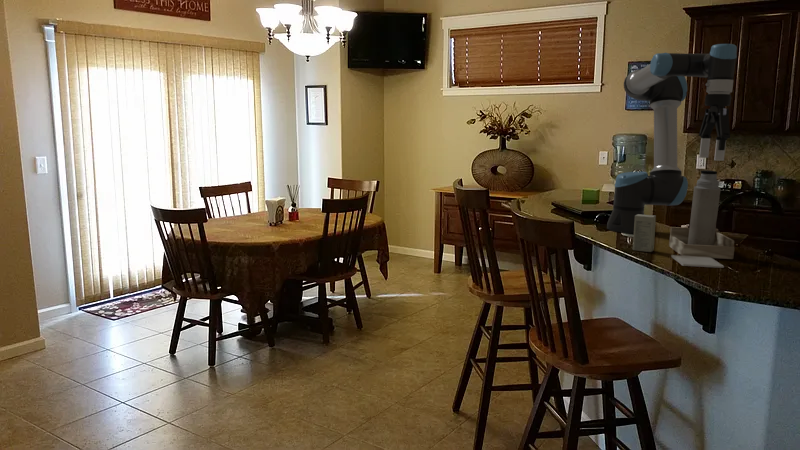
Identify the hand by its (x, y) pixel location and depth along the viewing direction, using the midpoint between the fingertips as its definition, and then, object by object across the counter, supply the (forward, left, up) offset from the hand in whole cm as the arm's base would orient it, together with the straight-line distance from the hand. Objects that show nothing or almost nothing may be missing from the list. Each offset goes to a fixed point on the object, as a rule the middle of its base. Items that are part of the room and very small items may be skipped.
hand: (711, 159), depth 200 cm
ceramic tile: (+15, -6, -32) cm, 36 cm away
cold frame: (0, 0, -32) cm, 32 cm away
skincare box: (+1, -19, -32) cm, 37 cm away
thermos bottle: (0, 0, -32) cm, 32 cm away
